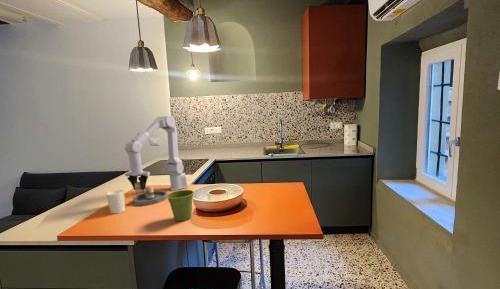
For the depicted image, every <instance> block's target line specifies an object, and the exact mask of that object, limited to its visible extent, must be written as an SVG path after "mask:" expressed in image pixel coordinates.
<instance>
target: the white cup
mask: <svg viewBox="0 0 500 289" xmlns="http://www.w3.org/2000/svg"><path fill="white" fill-rule="evenodd" d="M105 195H106V199H107V203H108V207H109V210H110V214H112V213H117V214H120V213H123V212H125V211H126V210H125V209H126V201H125V200H126V199H125V191H124V189H115V190H111V191H108V192H106V194H105Z"/></svg>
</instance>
